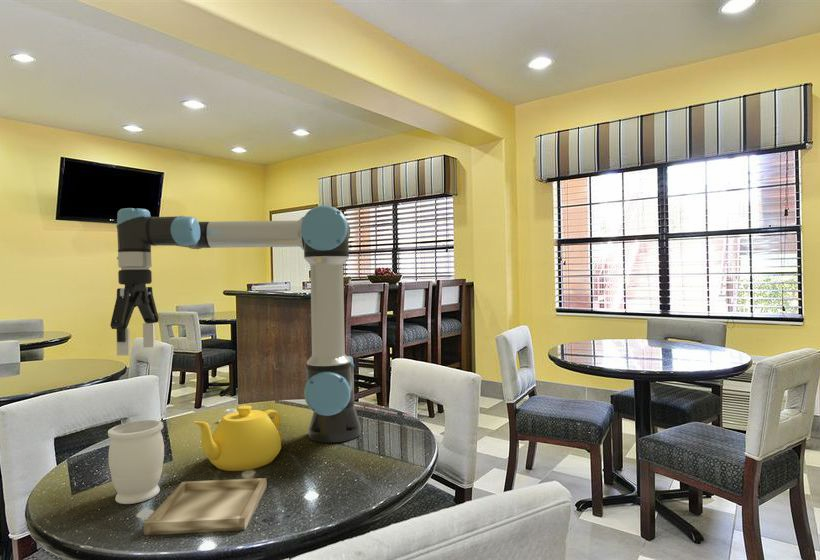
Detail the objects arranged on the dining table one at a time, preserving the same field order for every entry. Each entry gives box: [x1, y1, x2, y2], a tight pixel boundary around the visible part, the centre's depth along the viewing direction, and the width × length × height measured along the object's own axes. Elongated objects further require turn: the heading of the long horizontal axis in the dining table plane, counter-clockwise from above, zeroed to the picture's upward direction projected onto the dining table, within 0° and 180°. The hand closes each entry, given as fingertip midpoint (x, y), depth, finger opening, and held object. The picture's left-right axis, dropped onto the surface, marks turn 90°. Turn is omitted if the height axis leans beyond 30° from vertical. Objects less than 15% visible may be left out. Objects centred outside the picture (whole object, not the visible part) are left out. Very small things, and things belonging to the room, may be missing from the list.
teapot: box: [193, 404, 284, 472], centre depth 125 cm, size 25×18×14 cm
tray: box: [143, 477, 268, 536], centre depth 99 cm, size 18×18×2 cm
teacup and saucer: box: [218, 407, 237, 423], centre depth 160 cm, size 9×8×4 cm
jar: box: [107, 419, 165, 505], centre depth 106 cm, size 11×10×15 cm
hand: (137, 351), depth 128 cm, fingers open, 13 cm apart
